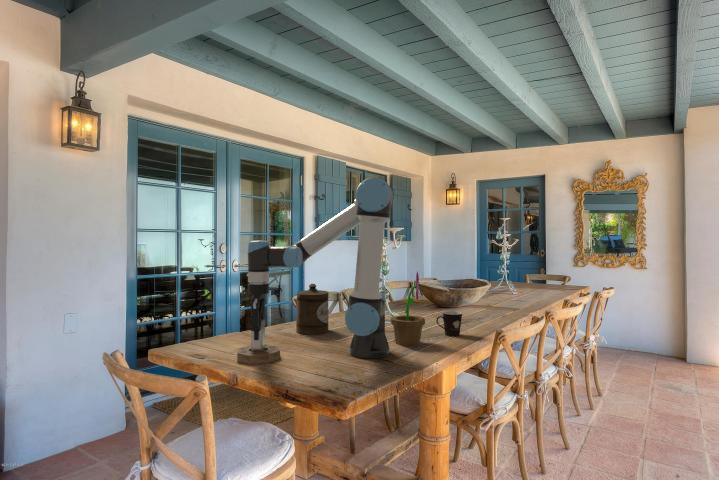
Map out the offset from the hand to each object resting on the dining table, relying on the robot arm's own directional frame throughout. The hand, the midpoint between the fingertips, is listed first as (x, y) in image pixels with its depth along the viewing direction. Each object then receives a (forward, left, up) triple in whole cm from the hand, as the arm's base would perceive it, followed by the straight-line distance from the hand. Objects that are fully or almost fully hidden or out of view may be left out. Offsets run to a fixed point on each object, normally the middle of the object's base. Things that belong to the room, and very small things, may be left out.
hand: (258, 346), depth 165 cm
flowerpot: (-38, -48, -4) cm, 61 cm away
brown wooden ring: (0, 0, -4) cm, 4 cm away
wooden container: (+9, -46, -4) cm, 47 cm away
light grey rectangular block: (0, 0, -1) cm, 1 cm away
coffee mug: (-48, -71, -4) cm, 86 cm away
